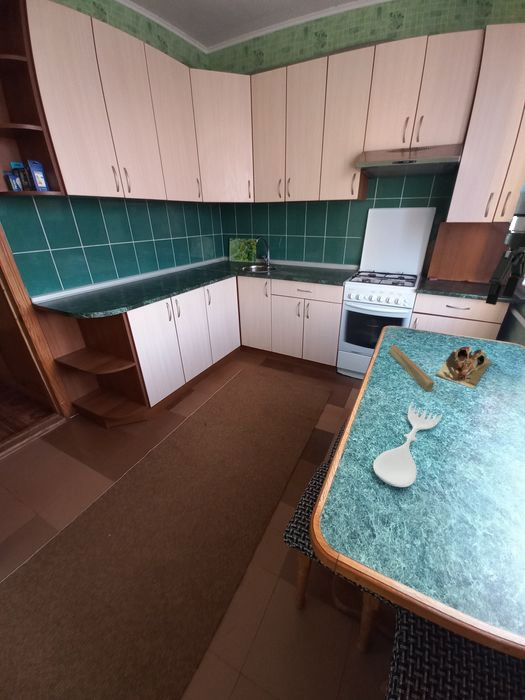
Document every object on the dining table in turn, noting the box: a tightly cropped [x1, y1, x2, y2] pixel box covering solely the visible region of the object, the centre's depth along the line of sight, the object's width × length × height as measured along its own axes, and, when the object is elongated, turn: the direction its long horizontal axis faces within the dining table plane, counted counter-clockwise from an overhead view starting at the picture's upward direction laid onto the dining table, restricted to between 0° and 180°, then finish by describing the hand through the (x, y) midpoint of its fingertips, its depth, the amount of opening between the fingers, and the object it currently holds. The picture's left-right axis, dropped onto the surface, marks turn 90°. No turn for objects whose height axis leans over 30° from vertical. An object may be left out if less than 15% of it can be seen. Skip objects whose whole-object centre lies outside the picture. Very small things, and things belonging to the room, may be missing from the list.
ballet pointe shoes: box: [435, 346, 493, 389], centre depth 109 cm, size 14×7×28 cm
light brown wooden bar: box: [389, 344, 435, 392], centre depth 108 cm, size 2×28×4 cm, turn 3°
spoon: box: [372, 402, 443, 488], centre depth 74 cm, size 9×32×4 cm, turn 139°
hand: (499, 300), depth 97 cm, fingers open, 13 cm apart
